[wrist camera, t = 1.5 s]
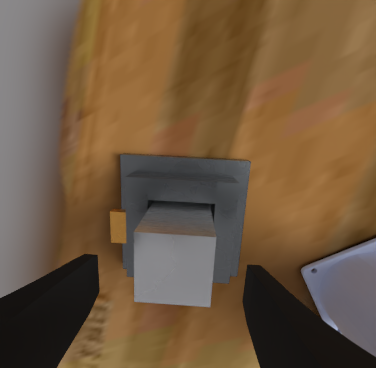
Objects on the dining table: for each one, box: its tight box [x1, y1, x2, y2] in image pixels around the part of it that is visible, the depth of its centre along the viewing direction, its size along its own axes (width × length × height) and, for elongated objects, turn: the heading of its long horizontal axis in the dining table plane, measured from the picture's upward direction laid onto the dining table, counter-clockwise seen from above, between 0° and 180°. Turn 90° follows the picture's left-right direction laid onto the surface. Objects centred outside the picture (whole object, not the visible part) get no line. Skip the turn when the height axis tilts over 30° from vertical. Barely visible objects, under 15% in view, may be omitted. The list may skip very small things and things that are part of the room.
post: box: [134, 200, 216, 307], centre depth 14 cm, size 4×4×6 cm
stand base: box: [110, 153, 251, 284], centre depth 16 cm, size 10×10×4 cm
